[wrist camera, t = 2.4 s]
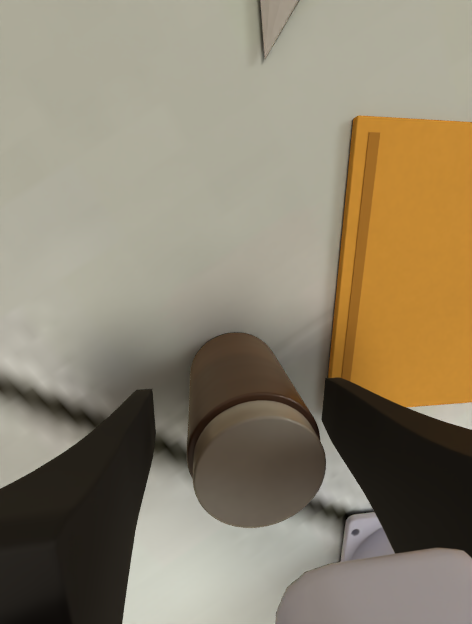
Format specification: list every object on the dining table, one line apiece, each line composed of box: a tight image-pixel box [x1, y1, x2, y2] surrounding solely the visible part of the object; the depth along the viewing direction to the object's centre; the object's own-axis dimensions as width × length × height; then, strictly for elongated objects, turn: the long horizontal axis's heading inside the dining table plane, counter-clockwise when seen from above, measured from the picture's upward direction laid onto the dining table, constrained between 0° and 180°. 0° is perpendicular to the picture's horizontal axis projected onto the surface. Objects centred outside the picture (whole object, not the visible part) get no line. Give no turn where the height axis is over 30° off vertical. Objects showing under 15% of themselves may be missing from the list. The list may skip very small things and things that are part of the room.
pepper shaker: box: [187, 333, 326, 528], centre depth 12 cm, size 4×4×6 cm
